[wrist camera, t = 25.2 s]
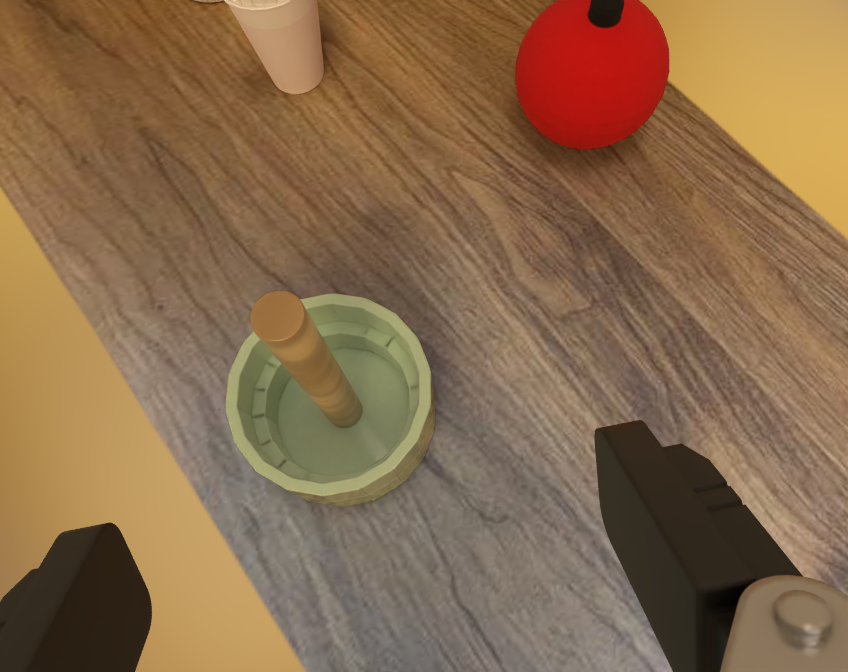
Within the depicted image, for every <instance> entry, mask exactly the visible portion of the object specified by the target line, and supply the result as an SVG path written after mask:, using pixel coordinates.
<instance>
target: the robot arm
mask: <svg viewBox="0 0 848 672" xmlns="http://www.w3.org/2000/svg"><path fill="white" fill-rule="evenodd" d="M595 451H596V463H597V476H598V488H599V500H600V508H601V513H602V518H603V522H604V525H605V529H606V532H607V535H608V537H609V540H610V542H611V544H612V546H613V548H614V550H615V552H616V554H617V557H618V559H619V561H620V563H621V565H622V567H623V569H624V571H625V573H626V575H627V577H628V579H629V581H630V583H631V585H632V587H633V590H634V592H635V594H636V596H637V598H638V600H639V602H640V604H641V606H642V608H643V610H644V612H645V614H646V616H647V618H648V621H649V623H650V625H651V627H652V629H653V631H654V633H655V635H656V637H657V639H658V641H659V643H660V645H661V647H662V649H663V651H664V654H665V656H666V658H667V660H668V662H669V664H670V666H671V668H672V670H673V672H848V596H847V595H846V594H844V593H843V592H841V591H840V590H838V589H836V588H834V587H832V586H830V585H828V584H826V583H823V582H821V581H818V580H814V579H811V578H807V577H803V576H802V574H801V573H800V572H799V571H798V570H797V568H796V567H795V566H794V565H793V563H792V562H791V561H790V560H789V558H788V557H787V556H786V555H785V553H784V552H783V551H782V550H781V548H780V547H779V546H778V545H777V543H776V542H775V541H774V540H773V538H772V537H771V536H770V535H769V534H768V532H767V531H766V530H765V529H764V527H763V526H762V525H761V524H760V522H759V521H758V520H757V519H756V517H755V516H754V515H753V514H752V512H751V511H750V510H749V509H748V507H747V506H746V505H743V504H742V501H741V499H740V497H739V496H738V495H737V494H736V493H735V491H734V490H733V489H732V488H731V486H728V485H727V481H726V480H725V479H724V478H723V476H722V475H721V474H720V473H719V471H718V470H717V469H716V468H715V466H714V465H713V464H712V463H711V461H710V460H709V459H707V458H705V457H703V456H702V455H700V454H698V453H697V452H695V451H693V450H691V449H690V448H688V447H686V446H685V445H683V444H677V445H672V446H667V447H662V446H661V445H660V443H659V442H658V440H657V439H656V438H655V436H654V435H653V433H652V432H651V431H650V429H649V428H648V427H647V425H646V424H645V423H644V422H643V421H642V420H637V421H632V422H627V423H622V424H617V425H612V426H607V427H602V428H597V429H596V430H595ZM151 619H152V606H151V599H150V595H149V592H148V589H147V587H146V585H145V582H144V581H143V578H142V576H141V574H140V572H139V570H138V567H137V565H136V563H135V561H134V559H133V557H132V555H131V552H130V550H129V548H128V546H127V544H126V542H125V540H124V537H123V535H122V533H121V532H120V530H119V528H118V527H117V526H116V525H115V524H113V523H105V524H100V525H95V526H91V527H85V528H80V529H75V530H70V531H65V532H62V533H61V534H60V535H59V536H58V537H57V538H56V540H55V542H54V543H53V545H52V547H51V548H50V550H49V552H48V553H47V555H46V557H45V558H44V560H43V562H42V563H41V565H40V567H39V568H38V569H33V570H31V571H30V572H29V573H28V574H27V575H26V576H25V577H24V578H23V579H22V580H21V581H20V582H19V583H17V584H16V585H15V586H14V587H13V588H12V589H11V590H10V591H9V592H8V593H7V594H6V595H5V596H4V597H3V599H2V600H1V602H0V672H135V670H136V667H137V664H138V661H139V658H140V656H141V653H142V650H143V647H144V644H145V642H146V639H147V636H148V633H149V630H150V626H151Z"/></svg>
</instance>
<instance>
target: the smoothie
mask: <svg viewBox="0 0 848 672" xmlns="http://www.w3.org/2000/svg"><path fill="white" fill-rule="evenodd" d="M224 1H225V2H226V3H227V4H228V5H229V7H230V9H231V11H232V12H233V14H234V15H235V17H236V19H237V20H238V22H239V24H240V26H241V27H242V29H243V31H244V32H245V34H246V36H247V38H248V39H249V41H250V43H251V44H252V46H253V48H254V50H255V51H256V53H257V55H258V56H259V58H260V60H261V62H262V63H263V65H264V67H265V68H266V70H267V72H268V74H269V75H270V77H271V79H272V80H273V82H274V84H275V85H276V87H277V88H279V89H280V90H281V91H283V92H286V93H289V94H302V93H305V92H308V91H310V90H312V89H313V88H315V87H316V86H317V85H318V84H319V83H320V81H321V80H322V78H323V75H324V64H323V54H322V45H321V35H320V25H319V15H318V5H317V0H224Z"/></svg>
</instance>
